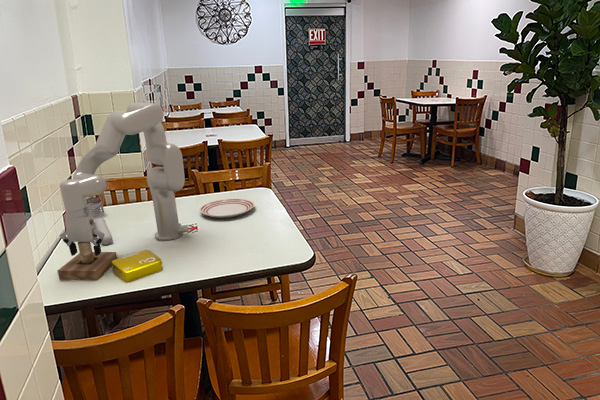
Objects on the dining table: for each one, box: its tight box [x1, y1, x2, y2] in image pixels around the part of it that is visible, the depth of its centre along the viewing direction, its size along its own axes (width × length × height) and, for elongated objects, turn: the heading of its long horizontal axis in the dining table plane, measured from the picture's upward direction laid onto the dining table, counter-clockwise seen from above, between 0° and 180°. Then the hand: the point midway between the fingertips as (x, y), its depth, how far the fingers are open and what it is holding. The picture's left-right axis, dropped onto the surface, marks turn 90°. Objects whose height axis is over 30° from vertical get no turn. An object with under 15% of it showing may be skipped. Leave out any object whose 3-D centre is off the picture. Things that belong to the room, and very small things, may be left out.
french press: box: [86, 192, 108, 221], centre depth 236 cm, size 10×12×25 cm
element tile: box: [111, 249, 163, 283], centre depth 179 cm, size 15×15×5 cm
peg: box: [77, 242, 94, 264], centre depth 179 cm, size 4×4×12 cm
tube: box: [94, 218, 113, 246], centre depth 213 cm, size 5×5×25 cm
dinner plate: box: [199, 198, 255, 219], centre depth 236 cm, size 28×27×3 cm
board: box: [57, 251, 118, 281], centre depth 181 cm, size 15×16×4 cm
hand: (86, 254), depth 179 cm, fingers open, 9 cm apart
